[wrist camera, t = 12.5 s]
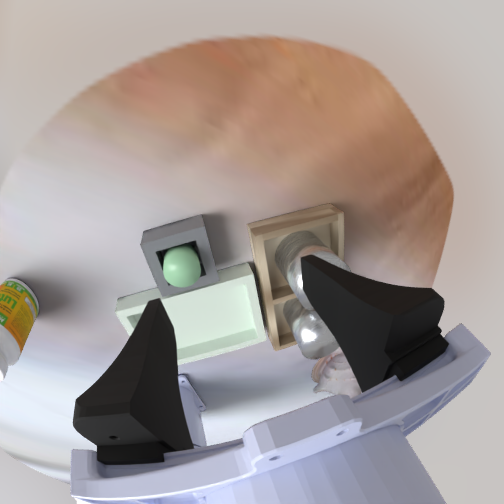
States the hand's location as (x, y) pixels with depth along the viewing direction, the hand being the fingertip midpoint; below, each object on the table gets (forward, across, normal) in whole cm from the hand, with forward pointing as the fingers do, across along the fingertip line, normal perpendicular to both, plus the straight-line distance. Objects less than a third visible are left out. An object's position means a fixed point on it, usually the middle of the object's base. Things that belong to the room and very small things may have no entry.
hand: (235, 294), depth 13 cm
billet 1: (+9, -7, +5) cm, 13 cm away
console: (+10, +3, +2) cm, 11 cm away
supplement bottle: (+11, +22, +2) cm, 25 cm away
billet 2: (+9, -7, +12) cm, 16 cm away
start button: (+9, +3, +2) cm, 10 cm away
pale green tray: (+10, +4, +10) cm, 15 cm away
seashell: (+11, -12, +25) cm, 30 cm away
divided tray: (+10, -7, +8) cm, 15 cm away
